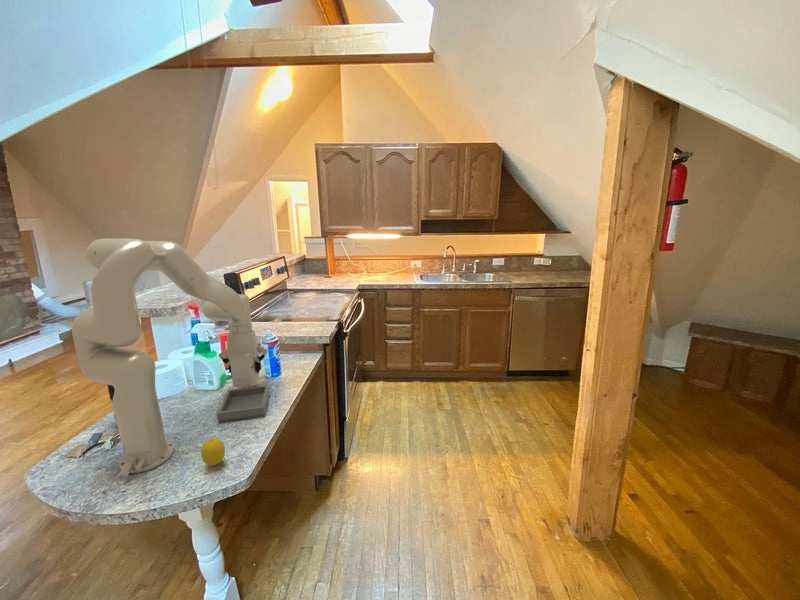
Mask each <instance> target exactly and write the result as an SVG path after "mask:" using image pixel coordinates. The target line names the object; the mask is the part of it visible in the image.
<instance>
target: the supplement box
mask: <svg viewBox="0 0 800 600" xmlns="http://www.w3.org/2000/svg"><path fill="white" fill-rule="evenodd" d="M230 364H231V373H232V376H231V381H232V388H248V387H254V385H256V383H257V382H258V381H259V380H260V379H261V378H260V372H259V373H257V371H256V361H255V359H252V357H251V354H241V355H232V356H231V360H230ZM231 373H230V374H231Z"/></svg>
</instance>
